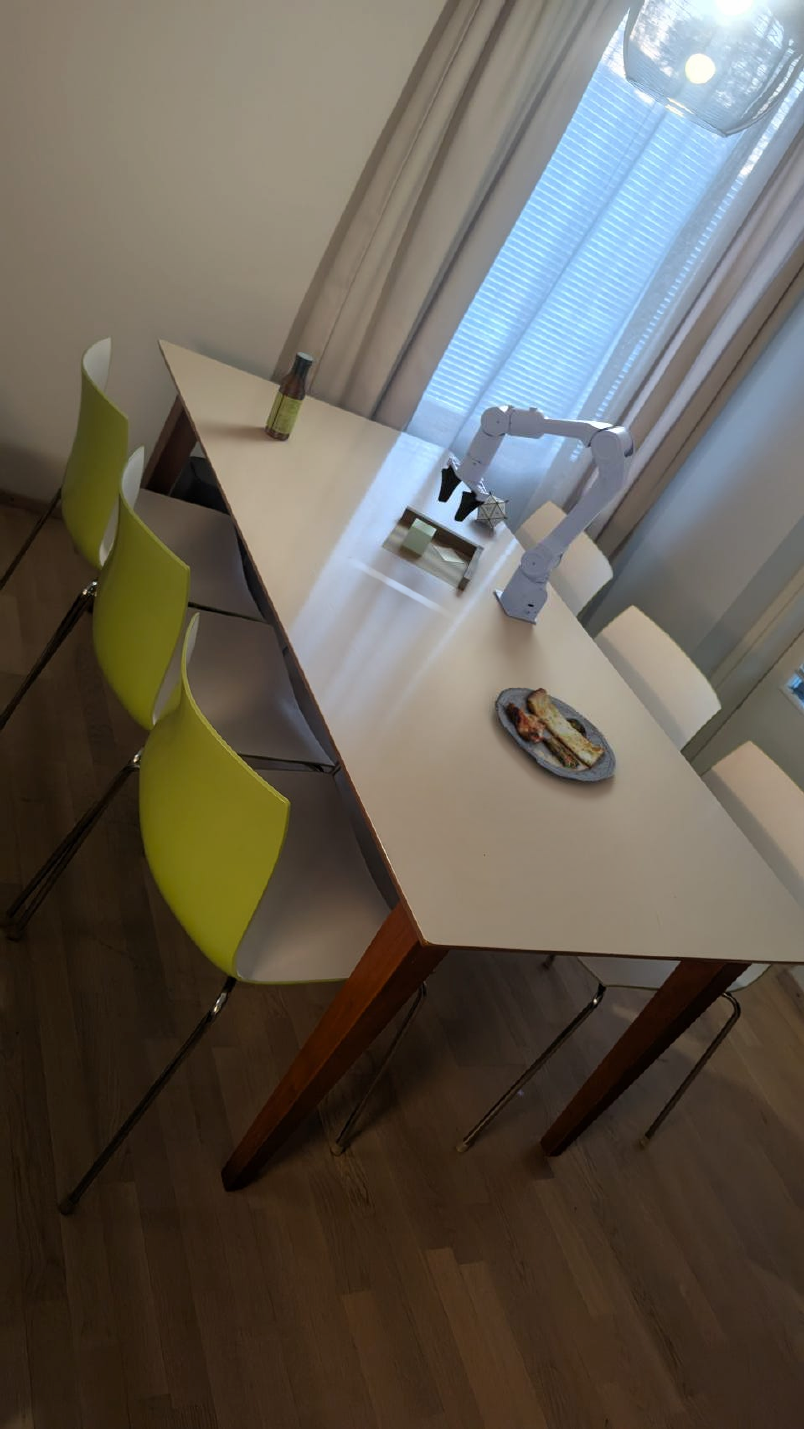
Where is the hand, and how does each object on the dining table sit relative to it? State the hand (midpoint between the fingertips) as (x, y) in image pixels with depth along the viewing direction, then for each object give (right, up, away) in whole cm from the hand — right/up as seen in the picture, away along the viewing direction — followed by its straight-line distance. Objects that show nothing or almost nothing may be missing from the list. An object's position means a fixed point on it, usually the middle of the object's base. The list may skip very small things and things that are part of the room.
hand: (449, 511), depth 232 cm
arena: (-5, -10, +1) cm, 11 cm away
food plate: (+17, -50, -38) cm, 65 cm away
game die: (+10, +2, +30) cm, 32 cm away
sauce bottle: (-41, +21, +16) cm, 48 cm away
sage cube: (-8, -8, -1) cm, 11 cm away
